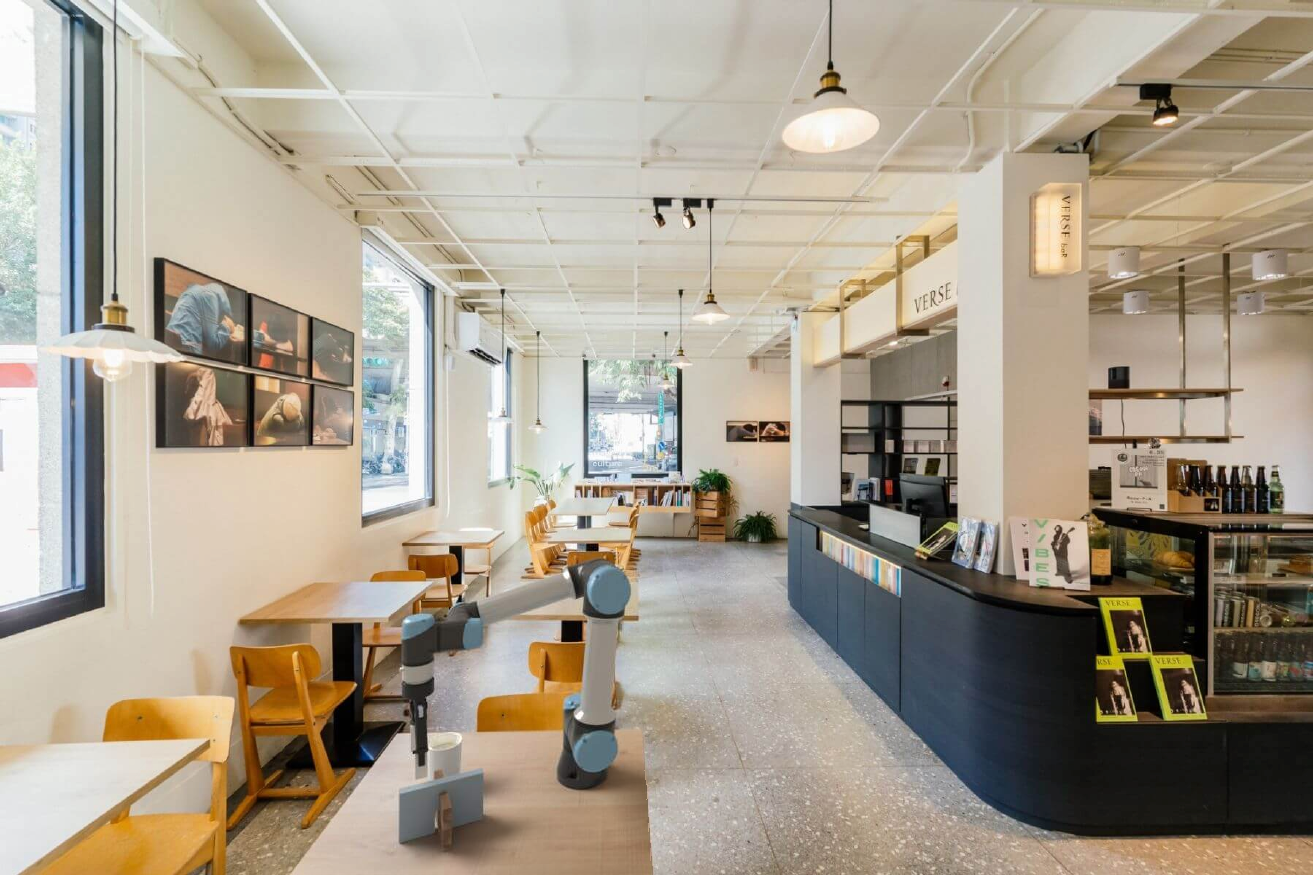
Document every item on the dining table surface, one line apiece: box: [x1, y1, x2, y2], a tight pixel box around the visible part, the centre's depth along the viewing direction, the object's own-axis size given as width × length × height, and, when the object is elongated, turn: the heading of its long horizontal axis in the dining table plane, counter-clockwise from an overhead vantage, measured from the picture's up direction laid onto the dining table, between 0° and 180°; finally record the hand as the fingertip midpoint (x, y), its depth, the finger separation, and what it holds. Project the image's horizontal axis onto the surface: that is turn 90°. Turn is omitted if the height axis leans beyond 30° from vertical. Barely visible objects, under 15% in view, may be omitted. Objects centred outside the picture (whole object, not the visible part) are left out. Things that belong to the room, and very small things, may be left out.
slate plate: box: [397, 767, 485, 844], centre depth 145 cm, size 20×2×12 cm, turn 118°
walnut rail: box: [434, 769, 453, 852], centre depth 145 cm, size 2×18×10 cm, turn 27°
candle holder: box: [427, 731, 463, 782], centre depth 164 cm, size 10×10×12 cm
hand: (418, 763), depth 142 cm, fingers open, 13 cm apart
